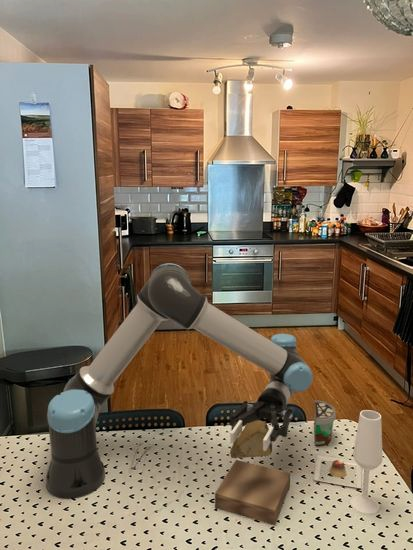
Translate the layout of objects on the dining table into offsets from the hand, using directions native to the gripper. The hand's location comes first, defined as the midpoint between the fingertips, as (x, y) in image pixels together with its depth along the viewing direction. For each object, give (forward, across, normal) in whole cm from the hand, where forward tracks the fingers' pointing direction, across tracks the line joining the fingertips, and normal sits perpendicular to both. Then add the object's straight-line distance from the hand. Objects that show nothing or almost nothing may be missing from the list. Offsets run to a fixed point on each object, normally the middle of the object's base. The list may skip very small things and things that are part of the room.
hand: (248, 441), depth 108 cm
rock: (-5, +1, -6) cm, 8 cm away
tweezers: (-6, +36, -19) cm, 41 cm away
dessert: (-23, -18, -19) cm, 35 cm away
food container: (-39, -12, -18) cm, 45 cm away
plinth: (-5, 0, -18) cm, 19 cm away
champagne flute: (-13, -26, -18) cm, 34 cm away
